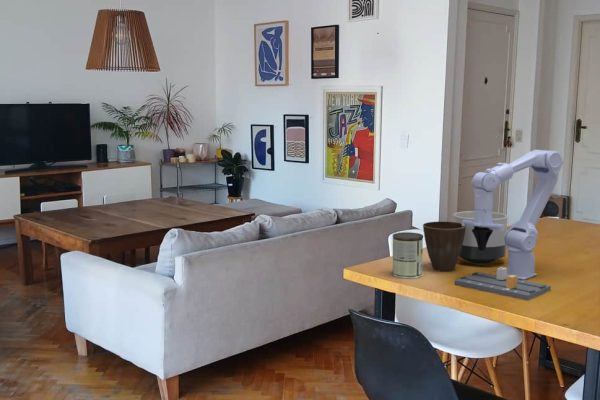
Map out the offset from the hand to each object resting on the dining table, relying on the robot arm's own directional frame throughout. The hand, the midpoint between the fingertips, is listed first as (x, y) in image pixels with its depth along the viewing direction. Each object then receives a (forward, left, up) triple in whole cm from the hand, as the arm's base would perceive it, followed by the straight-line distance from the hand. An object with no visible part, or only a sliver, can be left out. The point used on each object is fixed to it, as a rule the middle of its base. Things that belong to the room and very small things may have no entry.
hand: (481, 249), depth 208 cm
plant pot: (-5, -18, -11) cm, 21 cm away
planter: (-24, -15, -11) cm, 30 cm away
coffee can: (+11, -22, -11) cm, 27 cm away
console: (+3, +9, -10) cm, 14 cm away
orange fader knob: (+6, +14, -9) cm, 18 cm away
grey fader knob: (-1, +7, -9) cm, 11 cm away
